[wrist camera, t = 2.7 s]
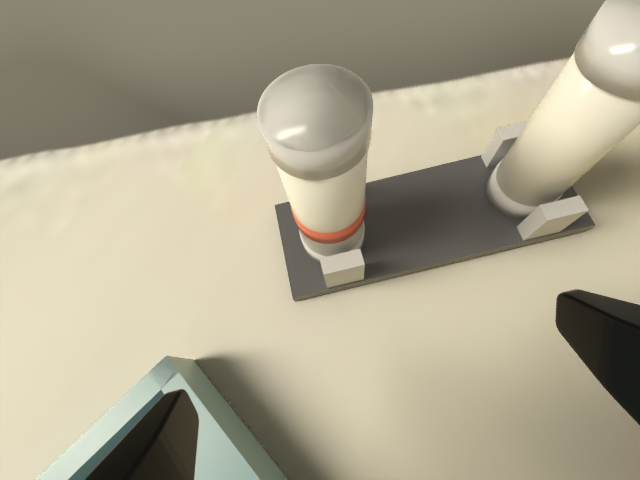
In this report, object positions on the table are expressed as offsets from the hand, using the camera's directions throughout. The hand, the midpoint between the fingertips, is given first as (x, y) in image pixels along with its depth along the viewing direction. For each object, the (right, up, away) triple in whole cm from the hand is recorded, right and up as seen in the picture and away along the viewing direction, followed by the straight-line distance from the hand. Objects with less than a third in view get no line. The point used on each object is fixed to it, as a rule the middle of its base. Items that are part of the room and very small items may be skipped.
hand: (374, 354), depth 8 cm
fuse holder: (+6, +4, +16) cm, 18 cm away
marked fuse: (0, +3, +15) cm, 16 cm away
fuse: (+12, +6, +15) cm, 21 cm away
